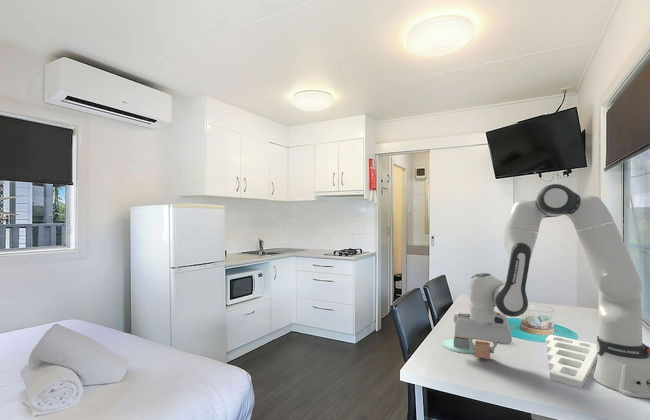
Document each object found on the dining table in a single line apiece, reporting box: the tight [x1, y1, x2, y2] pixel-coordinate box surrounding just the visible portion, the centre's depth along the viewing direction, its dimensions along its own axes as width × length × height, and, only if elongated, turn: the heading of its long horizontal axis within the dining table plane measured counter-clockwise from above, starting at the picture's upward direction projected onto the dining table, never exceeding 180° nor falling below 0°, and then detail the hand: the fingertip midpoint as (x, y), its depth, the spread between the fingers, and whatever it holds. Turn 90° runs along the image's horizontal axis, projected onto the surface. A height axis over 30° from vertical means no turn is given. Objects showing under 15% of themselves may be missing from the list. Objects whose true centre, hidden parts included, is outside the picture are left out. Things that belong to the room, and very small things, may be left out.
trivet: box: [545, 334, 598, 389], centre depth 132 cm, size 45×18×3 cm, turn 135°
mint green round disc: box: [441, 335, 476, 355], centre depth 145 cm, size 16×16×4 cm
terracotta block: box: [474, 339, 491, 360], centre depth 132 cm, size 5×5×5 cm
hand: (482, 351), depth 132 cm, fingers closed on terracotta block, 5 cm apart
